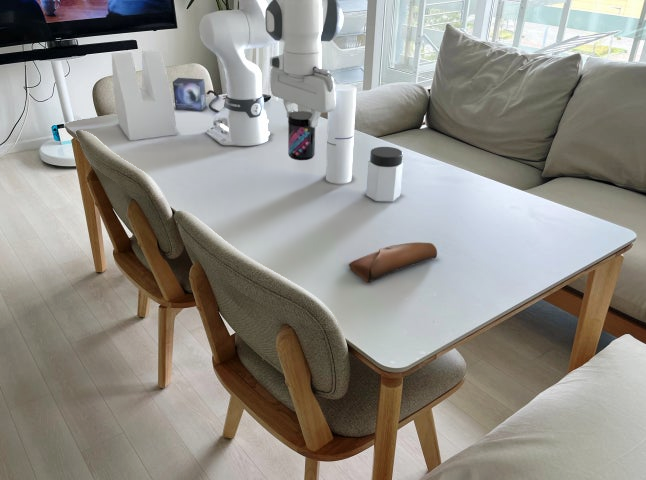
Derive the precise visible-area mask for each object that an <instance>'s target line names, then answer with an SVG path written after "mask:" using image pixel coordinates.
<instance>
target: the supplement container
mask: <svg viewBox="0 0 646 480" xmlns="http://www.w3.org/2000/svg"><path fill="white" fill-rule="evenodd" d="M311 117H312V113H311V111H304V110H298V111H296V112H292V113H289V114H288V118H287V123H288V124H287V135H288V136H287V153H288V157H289V158H290V159H291V160H295V161H308V160H312V159H313V158H314V156H315V154H316V127H314V128H313V127H310V126H308V119H311Z"/></svg>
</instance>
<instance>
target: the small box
mask: <svg viewBox="0 0 646 480" xmlns="http://www.w3.org/2000/svg"><path fill="white" fill-rule="evenodd" d="M172 89H173V90H172V91H173V100H174V110H178V111H179V110H180V111H193V112H202V111H204V110H205V109H206V108H207V97H206V86H205V79H204V78H192V77H189V78H188V77H177V78H176V79H174V80H173V81H172Z"/></svg>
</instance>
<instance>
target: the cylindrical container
mask: <svg viewBox="0 0 646 480" xmlns="http://www.w3.org/2000/svg"><path fill="white" fill-rule="evenodd" d="M334 86H335V108H334V110H333V111H331V112H327V123H326V124H327V125H326V159H325V180H326V181H327V182H329V183H330V184H336V185H343V184H348V183H350V182H351V181H352V176H353V172H352V171H353V154H354V137H355V136H354V135H355V118H356V117H355V116H356V103H357V102H356V100H357V87H356V86H355V85H352V84H345V83H336V84H335V83H334Z"/></svg>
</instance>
